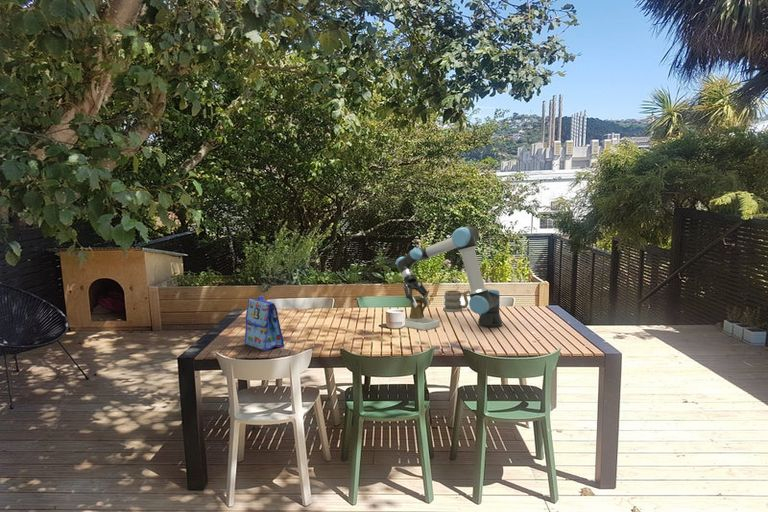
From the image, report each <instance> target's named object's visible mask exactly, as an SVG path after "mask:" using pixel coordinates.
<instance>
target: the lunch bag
mask: <svg viewBox="0 0 768 512" xmlns="http://www.w3.org/2000/svg"><path fill="white" fill-rule="evenodd" d="M244 330H245V332H244V334H245V335H244V345H247V346H250V347H253V348H255V349H258V350H261V351H264V352H267V351H269V350H271V349H273V348H275V347H277V348H284V347H285V343H284V336H283V332H282V329H281V324H280V320H279V313H278V308H277V306H276V304H275V303H274V302H271V301H269V300H265V298H264V295H258V296H257V299H256V298H248V299H247V307H246V313H245V329H244Z"/></svg>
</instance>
